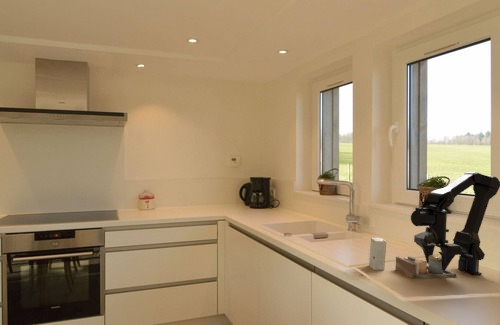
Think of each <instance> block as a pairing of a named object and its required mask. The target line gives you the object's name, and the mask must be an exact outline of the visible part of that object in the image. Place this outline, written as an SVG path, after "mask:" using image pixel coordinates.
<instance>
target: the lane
mask: <svg viewBox="0 0 500 325" xmlns="http://www.w3.org/2000/svg"><path fill="white" fill-rule="evenodd" d="M415 267H416V264H414V263H411V262H409V261H407V260H405V259H404V257H400V256H395V271H397V272H399V273H401V274H403V275H405V276H406V277H409V278H410V279H412V280H413V279H436V278H437V279H439V278H457V274H456V273H454V272H451V271H450V270H447V269H446V270H443V274H431V273H429V272H428V265H427V268H426V274H425V275H415Z"/></svg>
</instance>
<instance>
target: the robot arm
mask: <svg viewBox="0 0 500 325" xmlns="http://www.w3.org/2000/svg"><path fill="white" fill-rule="evenodd" d="M470 187H472V191H473V193H474V198H473V200H472V203H471V207H470V210H469V212H468V215H467V217H466V222H465V224H464V227H463V229H462V230H460V231H458V230H457V231H455V233H454V238H453V239H452V241H453V242H452V243H449V240H448V239H447V238H446V237H447V233H449V232H450V228H449V229H448V228H447V220H448V218H447V216H448V214H449V215H452V211H451V210H450V209H449V207H450V206H452V204H453V203H454V202H455V198H456V197H458V196H459V195H460V194H461V193H463V192H464V191H466V190H467V189H469V188H470ZM499 189H500V180H499V177H496V176H490V175H489V176H488V175H487V174H486V175H485V174H482V173H479V172H478V171H466V172H464V173H463V175H461V176H460V177H458V178H456V179H455V180H454V181H453V182H451V183H450V184H448V185H447V186H444V187H443V188H439V189H435V190H432V191H430V192H429V193H428V194H427V196H426V199H425V200H424V202H423V203H422V204H421V206H420V207H417V206H416V207H415V208H414V211H413V212H412V213H411V215H410V222H411V223H412V224H413V226H414V227H425V231H423V232H420V233H417V234H415V235H413V238H414V239H413V240H414V241H413V242H414V243H415V244H416V245H417V246H419V247H420V248H421V250H422V251H423V254H424V258H425V261H426V262H427V264H428V263H429V255H434V250H435V247H437V248H439V250H440V251H438V253H439V256H441V259H442V270H447V268H448V266H449V265H450V263H451V262H452V260H453V259H454V258H455V257H456V256H458V255H459V256H458V258H459V259H458V262H457V270H459V271H462V272H464V273H466V274H469V275H471V276H478V275H483V273H482V272H480V270H479V269H480V267H479V266H480V261H482V260H484V258H485V256H486V254H485V252H484V251H483V250H482V248H481V247H480V246H481V239H480V235H479V232H480V229H481V227H482V224H483V219H484V216H485V214H486V211H487V208H488V205H489V202H490V200H491V199H492V198H493V197H495V196H496V195H497V193H498V191H499Z"/></svg>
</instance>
